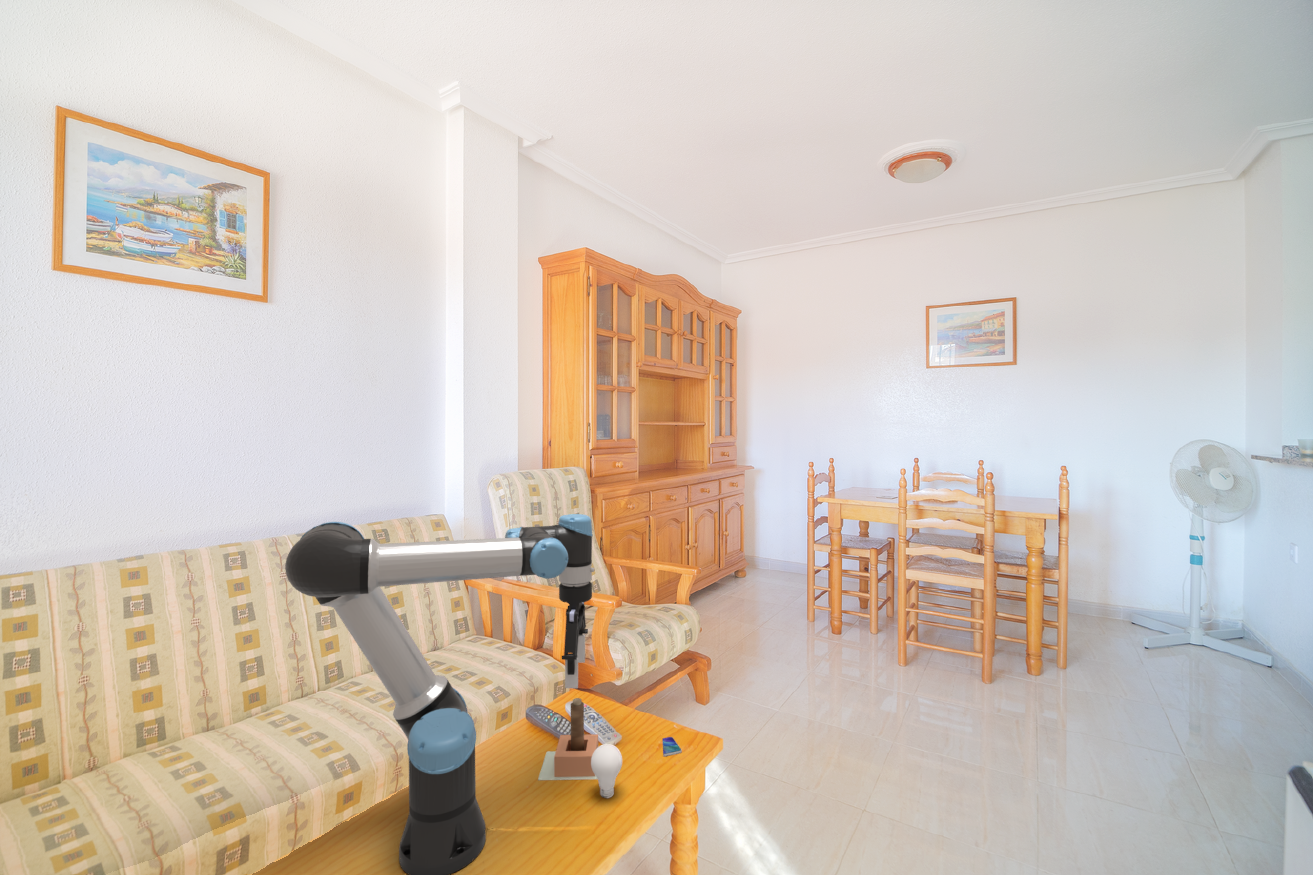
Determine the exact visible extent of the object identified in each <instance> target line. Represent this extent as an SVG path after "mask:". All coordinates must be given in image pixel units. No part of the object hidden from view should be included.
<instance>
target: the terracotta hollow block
mask: <svg viewBox="0 0 1313 875" xmlns="http://www.w3.org/2000/svg"><path fill="white" fill-rule="evenodd" d="M598 747H599V734H584V751H571V734H560V736H559V738H558V743H557V745H556V750H555V751H556V753H555V756H554V777H583V776H595V774H594V772H593V770H592V767H591V758H592V755H593V753H594V751H595V750H596V749H597V748H598Z"/></svg>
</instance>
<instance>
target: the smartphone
mask: <svg viewBox="0 0 1313 875" xmlns="http://www.w3.org/2000/svg"><path fill="white" fill-rule="evenodd" d="M662 753H663V754H662V755H663V756H662V757H669V756H674V755H679V754H681V753H682V748H681V747H680V745H679V744H678V743H677V742H676V740H675V738H674V737H673V736H667V737H663V738H662Z"/></svg>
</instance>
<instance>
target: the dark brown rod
mask: <svg viewBox="0 0 1313 875" xmlns="http://www.w3.org/2000/svg"><path fill="white" fill-rule="evenodd" d="M584 705H585V704H584V702H583V701H582V698H580V697H576V698H575V697H574V698H573V699H572V702H571V703H570V735H571V751H584V735H585V718H584V717H585V710H584V709H585V708H584V707H585V706H584Z"/></svg>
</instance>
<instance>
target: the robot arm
mask: <svg viewBox="0 0 1313 875" xmlns="http://www.w3.org/2000/svg"><path fill="white" fill-rule="evenodd" d="M592 526H593V525H592V519H591V517H590V515H587V514H584V513H583V514H580V513H572V514H571V513H570V514H563V515H560V517H559V518H558V523H557V524H554V525H542V526H541V525H539V526H526V527H525V526H520V527H515V528H508V530H506V532H505V536H504V537H502V538H501V537H500V538H482V539H481V538H480V539H478V538H477V539H457V540H440V541H439V540H434V541H416V542H415V541H414V542H394V543H379V542H377V541H376V540H375V539H374V538H365V537H364V535H363V534H362V532H361V531H360V530H359V529H358V528H356V527H354V526H353V525H351V524H349V523H346V522H343V521H342V522H341V521H328V522H323V523H322V524H318V525H315V526H313V527H312V528H311V529H309V530H307V531H306V532H305V533H304V534H303V535H302V536H301V537H300V539H298V541H296V542H295V544H294V545H293V546H292V547H291V548H290V550H289V551H288V554H287V556H286V559H285V565H284V567H285V568H284V569H285V570H284V571H285V575H286V577H287V581H288V582H289V583H290V584H291V586H292V587H293V588H294V589H295V590H296V591H298V592H299V593H301V594H303V595H306V596H308V597H314V598H315V599H316V600H317V602H318V603H319V604H320V606H321V607H331V608H333V609H334V610H335V612H336V614H337V616H339V618H340V620H341V621H342V622H343V624H344V627H346V629H347V631H348V633H349V634H350V635H351V637H352V639H353V640H354V641H355V643H356V644H357V646H358V648H359V649H360V651H361V652H362V654H363V655H364V657H365V658H366V660H367V661H368V663H369V665H370V666H371V668H372V669H373V671H374V673H375V674H376V675H377V677H378V679H379V680H380V681H381V683H382V684H383V686H384V688H385V689H386V691H387V692H388V694H389V695H390V698H392V700H393V702H394V703H395V705H394V709H393V711H392V712H393V713H392V716H393V718H394V720H395V721H396V722H397V724H398V726H399V727H400V728H401V730H402V732H403V734H404V735H405V737H406V738H407V756H408V805H409V808H408V810H409V811H408V812H409V813H408V816H407V820H406V822H405V825H404V830H403V832H402V836H401V837H400V842H399V846H398V849H399V850H398V855H399V856H398V857H399V858H398V859H399V860H398V862H399V865H400V867H401V870H403V871H404V872H405V873H406V874H407V875H452V874H453V873H455V872H457V871H460V870H462V869H464V868H465V867H466V866H468V865H470V863H472V862H473V861H474V860H475V859H476V858H477V857H478V856H479V855H480V853H481V852H482V851H483V848H484V847H485V844H486V840H487V839H486V836H487V835H486V834H487V833H486V832H487V831H486V822H485V819H484V816H483V814H482V810H481V808H480V805H479V803H478V800H477V796H476V787H477V786H476V784H477V783H476V781H477V780H476V741H477V732H476V727H475V722H474V719H473V717H472V716H471V715H470V714H469V713H468V708H467V703H466V701H465V698H464V697H463V696H462V694H461V693H460V692H459V691H458V690H457V689H456V688H454V687H453V686H452V684H451V683H450V682H449V679H448V678H447V677H446V676H445V675H440V674H438V675H437V674H435V672H434V671H433V669H432V667H431V665H430V664H429V663H428V661H427V659H426V658H425V657H424V654H423V653H422V652H421V650H420V649H419V646H418V645H417V644H416V642H415V640H414V639H413V637H412V636H411V634H410V632H409V631H408V629H407V628H406V626H405V625H404V623H403V621H402V620H401V618H400V617H399V615H398V613H397V612H396V610H395V609H394V607H393V606H392V604H391V602H390V600H389V599H388V597H387V596H386V594H385V592H384V591H383V589H382V587H393V586H404V585H405V586H406V585H407V586H408V585H416V584H417V585H418V584H419V585H420V584H432V583H444V582H445V583H446V582H457V581H471V580H482V579H494V578H495V579H496V578H507V577H508V578H509V577H510V578H511V577H522V576H524V577H525V576H537V577H539V578H543V579H547V580H548V579H555V578H557V577H558V581H559V582H560V584H559V585H558V591H559V592H558V598H559V600H560V601H561V602H563V603H567V604H568V605H567V608H566V610H565V633H564V634H565V637H564V652H563V655H561V660H564V661H565V662H564V666H565V667H564V670H565V671H564V681H565V682H564V686H565V687H564V688H565V689H578V688H579V663H580V664H581V663H584V664H585V663H586V635H587V634H588V632H589V630H588V629H589V628H586V627H587V624H586V605H585V603H586V602H588V601H591V599H592V598H593V583H592V582H591V581H592V579H593V573H594V572H595V570H596V569H595V567H593V566H592V565H593V564H592V562H593V558H592V557H593V527H592ZM585 634H586V635H585Z"/></svg>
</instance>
